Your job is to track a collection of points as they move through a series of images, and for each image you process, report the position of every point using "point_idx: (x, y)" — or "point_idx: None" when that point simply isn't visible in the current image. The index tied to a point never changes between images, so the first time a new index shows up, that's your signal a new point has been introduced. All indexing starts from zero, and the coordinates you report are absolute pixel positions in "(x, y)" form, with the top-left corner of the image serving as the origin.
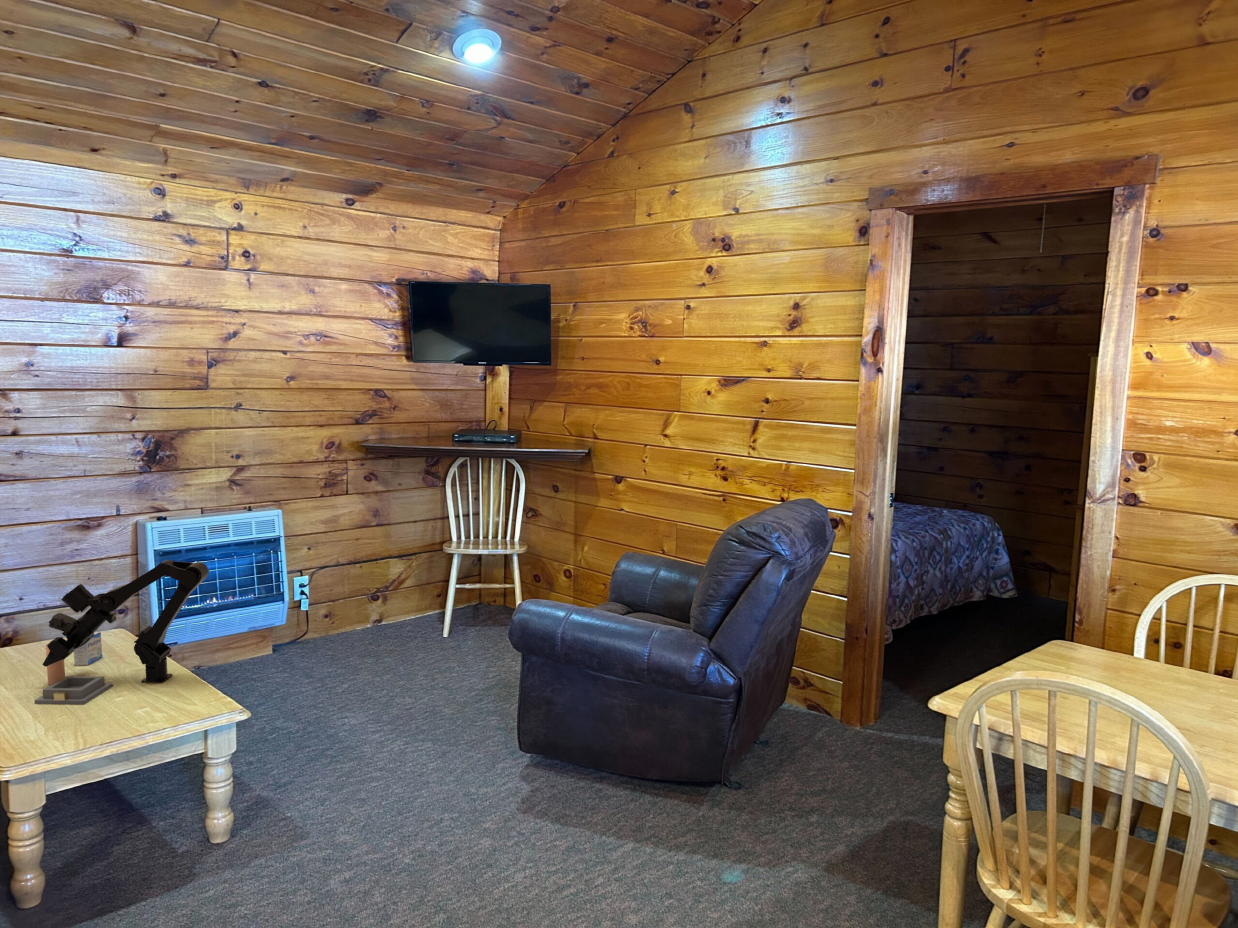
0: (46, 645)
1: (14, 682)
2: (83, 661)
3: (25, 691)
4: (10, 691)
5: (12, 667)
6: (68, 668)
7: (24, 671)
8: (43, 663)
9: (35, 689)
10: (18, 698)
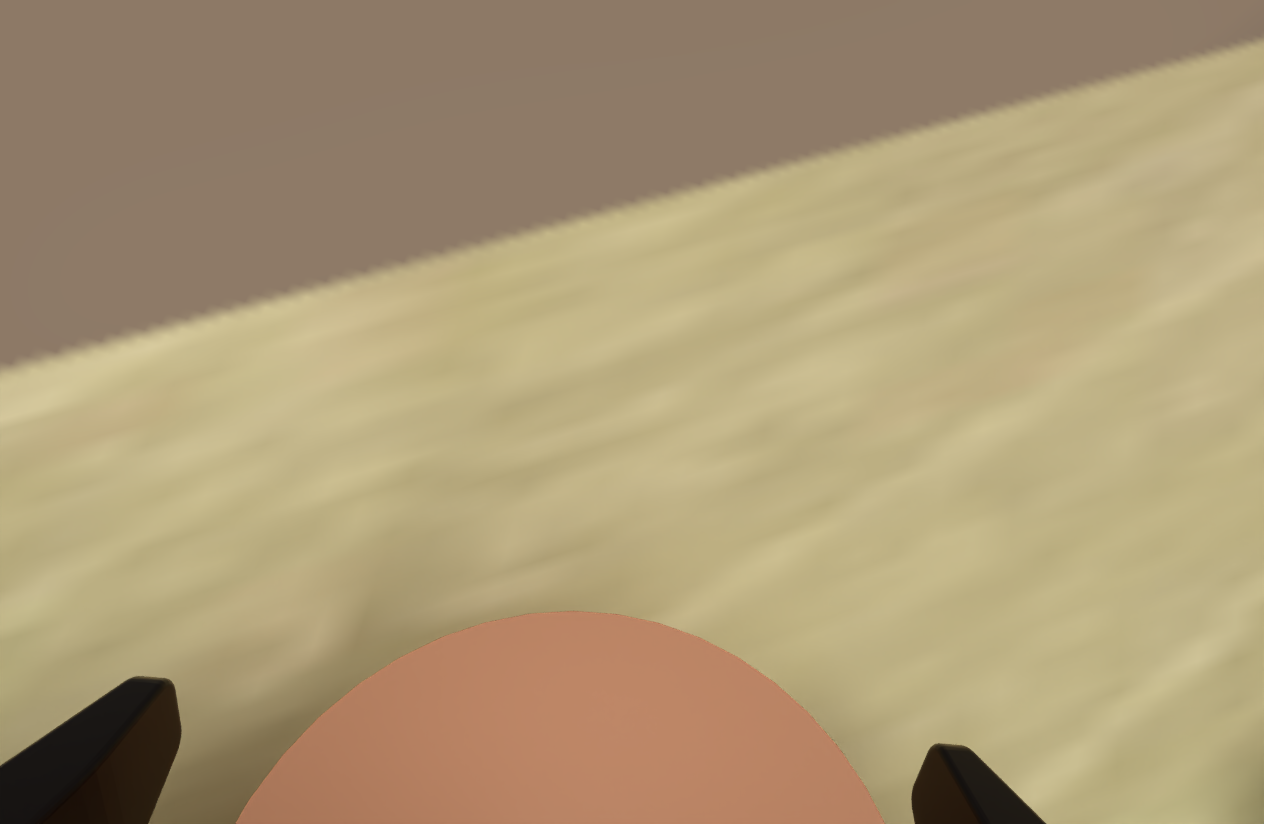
0: (423, 685)
1: (690, 228)
2: None
3: (291, 453)
4: (357, 278)
5: (1189, 76)
6: (1149, 716)
7: (1059, 221)
8: (96, 709)
9: (333, 558)
10: (11, 454)
